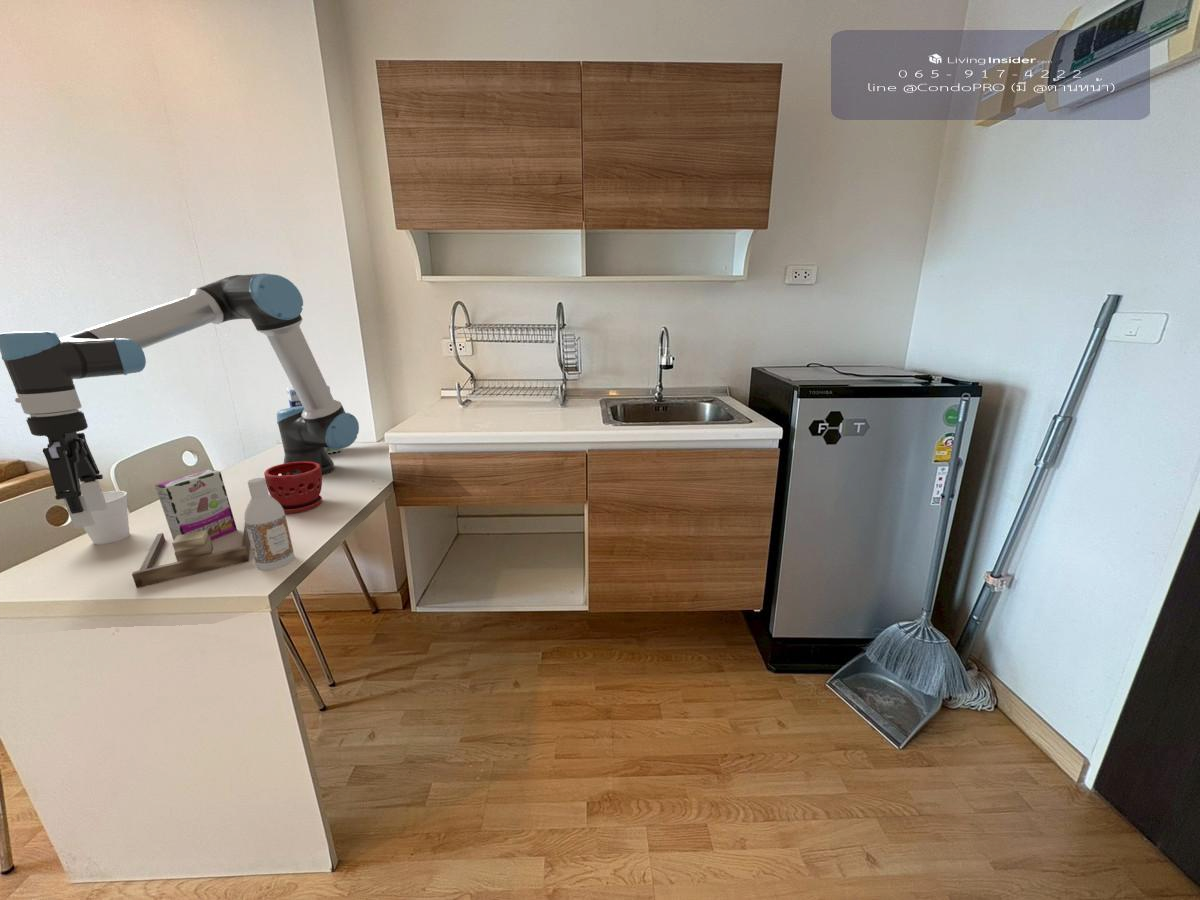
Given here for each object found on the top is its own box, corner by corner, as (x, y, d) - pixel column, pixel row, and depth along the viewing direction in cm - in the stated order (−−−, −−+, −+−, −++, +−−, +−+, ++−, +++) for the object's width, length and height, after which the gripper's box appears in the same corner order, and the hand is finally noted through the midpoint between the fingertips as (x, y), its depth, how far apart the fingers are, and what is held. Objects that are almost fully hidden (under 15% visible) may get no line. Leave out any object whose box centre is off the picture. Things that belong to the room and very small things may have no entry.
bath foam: (268, 577, 97) (246, 488, 91) (250, 568, 100) (228, 482, 94) (302, 561, 103) (283, 477, 97) (284, 554, 106) (265, 472, 100)
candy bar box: (225, 528, 118) (208, 468, 113) (238, 531, 117) (222, 470, 112) (173, 549, 108) (153, 484, 103) (187, 553, 107) (167, 486, 102)
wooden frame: (252, 524, 121) (249, 510, 120) (249, 564, 102) (245, 548, 101) (160, 543, 111) (155, 528, 110) (138, 591, 92) (131, 574, 91)
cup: (114, 530, 118) (99, 490, 114) (151, 530, 117) (138, 490, 114) (70, 550, 108) (53, 507, 105) (111, 550, 108) (95, 507, 105)
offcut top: (209, 538, 102) (206, 529, 102) (205, 545, 99) (202, 537, 99) (179, 543, 100) (177, 535, 100) (174, 551, 97) (172, 543, 96)
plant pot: (280, 522, 122) (271, 479, 118) (267, 508, 130) (257, 468, 127) (334, 506, 131) (326, 466, 127) (318, 494, 139) (311, 457, 136)
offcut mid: (212, 546, 104) (210, 536, 103) (211, 555, 100) (208, 544, 100) (180, 554, 101) (176, 544, 100) (177, 563, 97) (174, 552, 96)
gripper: (47, 405, 97) (82, 504, 104) (-1, 426, 80) (45, 542, 87) (97, 401, 101) (128, 497, 108) (62, 420, 84) (102, 532, 91)
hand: (91, 517), depth 97 cm, fingers open, 9 cm apart
